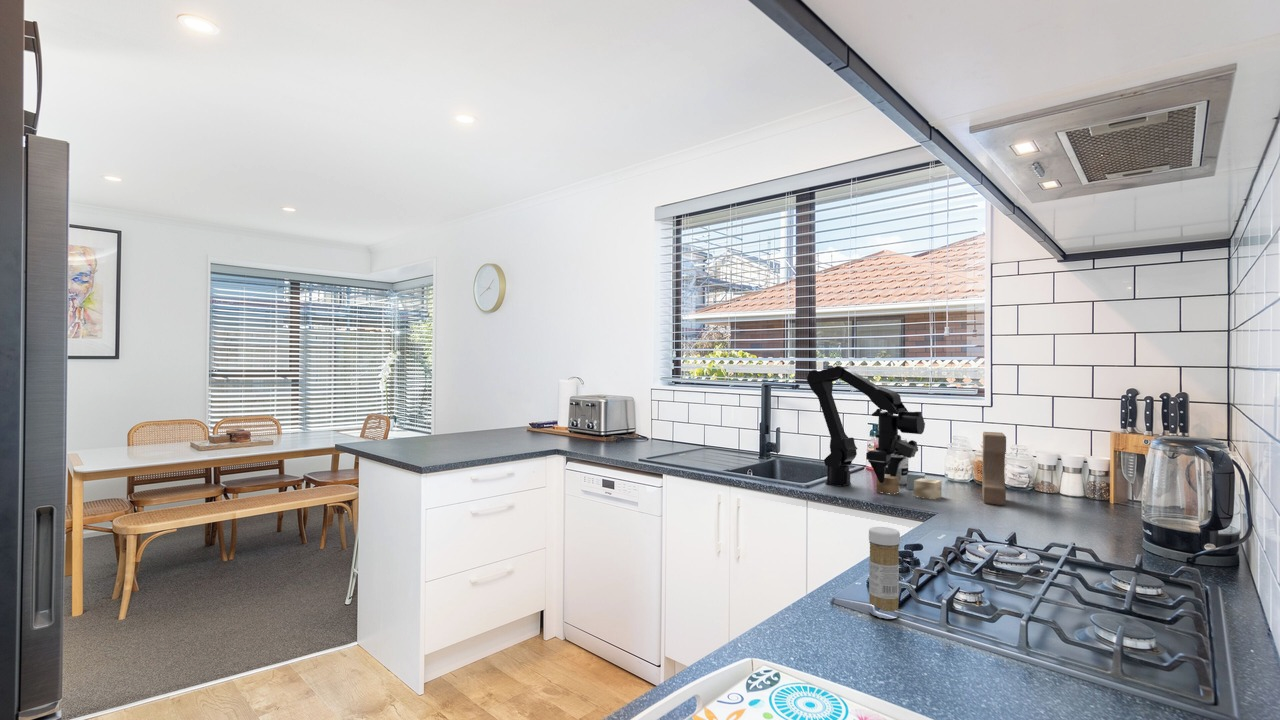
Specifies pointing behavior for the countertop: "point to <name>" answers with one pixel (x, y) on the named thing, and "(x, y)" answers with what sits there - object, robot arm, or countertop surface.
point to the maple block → (927, 488)
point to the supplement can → (901, 469)
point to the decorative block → (994, 468)
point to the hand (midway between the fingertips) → (887, 481)
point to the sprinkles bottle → (884, 568)
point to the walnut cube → (888, 485)
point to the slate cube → (913, 478)
